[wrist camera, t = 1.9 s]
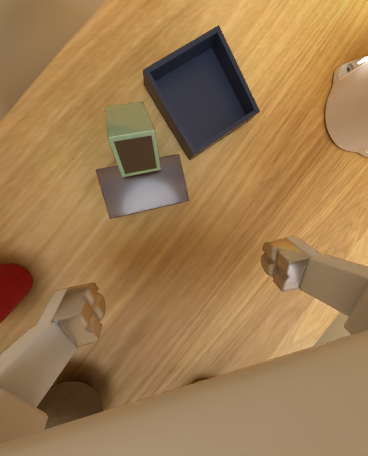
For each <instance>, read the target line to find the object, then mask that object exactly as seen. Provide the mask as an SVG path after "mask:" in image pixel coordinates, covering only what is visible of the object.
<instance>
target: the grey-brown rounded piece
mask: <svg viewBox="0 0 368 456" xmlns="http://www.w3.org/2000/svg"><path fill="white" fill-rule="evenodd" d="M36 408H38V409H39V410H41V411H43V412H45V413H46V414H47V416H48V420H47V423H46V426H45V429H48V428H51V427H54V426H57V425H61V424H64V423H67V422H70V421H74V420H77V419H80V418H83V417H87V416H90V415H93V414H96V413H99V412H103V408H102V404H101V400H100V397H99V395H98V393H97V392H96V390H95V389H94V388H92V387H91V386H89V385H88V384H86V383H83V382H79V381H68V382H63V383H59V384H57V385H55V386H53V387H50V389H49V390H48V392H47V393H46V395H45V396H44V397H43V399H42V400H41V402H40V403H39V405H38V406H37V407H36Z"/></svg>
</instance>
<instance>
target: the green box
mask: <svg viewBox="0 0 368 456" xmlns="http://www.w3.org/2000/svg"><path fill="white" fill-rule="evenodd" d="M105 111H106V124H107V137H108V140H109V143H110V146H111V149H112V151H113V154H114V157H115V159H116V162H117V165H118V167H119V170H120V173H121V175H122V177H127V176H132V175H137V174H142V173H147V172H152V171H158V170H161V167H160V160H159V153H158V146H157V140H156V133H155V129H154V127H153V124H152V122H151V120H150V117H149V115H148V113H147V110H146V108H145V106H144V103H143V102H136V103H129V104H121V105H114V106H106V107H105Z"/></svg>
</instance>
